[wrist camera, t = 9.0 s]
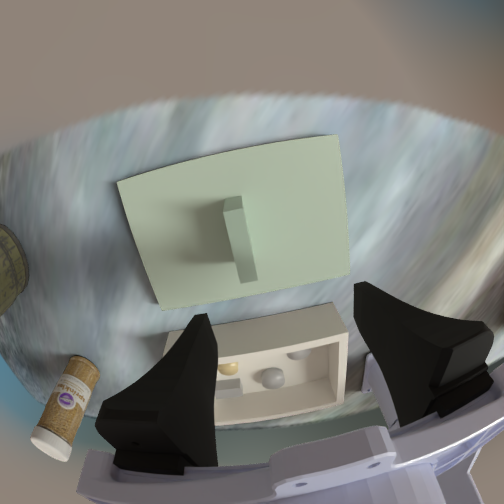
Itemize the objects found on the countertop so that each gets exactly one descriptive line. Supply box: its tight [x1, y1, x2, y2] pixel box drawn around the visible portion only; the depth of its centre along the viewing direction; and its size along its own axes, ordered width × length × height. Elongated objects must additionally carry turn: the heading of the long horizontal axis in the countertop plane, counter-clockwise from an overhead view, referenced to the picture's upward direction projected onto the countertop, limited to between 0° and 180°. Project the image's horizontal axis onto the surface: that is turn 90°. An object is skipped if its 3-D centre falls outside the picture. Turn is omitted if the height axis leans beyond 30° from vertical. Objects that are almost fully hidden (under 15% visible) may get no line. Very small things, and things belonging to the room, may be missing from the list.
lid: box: [117, 134, 350, 311], centre depth 20 cm, size 17×12×5 cm
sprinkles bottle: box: [30, 356, 100, 462], centre depth 22 cm, size 5×5×14 cm
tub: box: [162, 302, 348, 426], centre depth 26 cm, size 16×11×4 cm
